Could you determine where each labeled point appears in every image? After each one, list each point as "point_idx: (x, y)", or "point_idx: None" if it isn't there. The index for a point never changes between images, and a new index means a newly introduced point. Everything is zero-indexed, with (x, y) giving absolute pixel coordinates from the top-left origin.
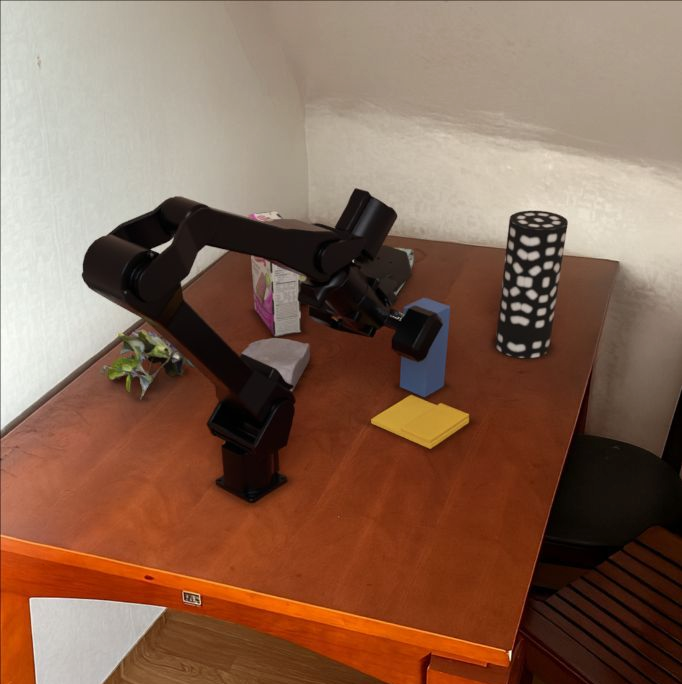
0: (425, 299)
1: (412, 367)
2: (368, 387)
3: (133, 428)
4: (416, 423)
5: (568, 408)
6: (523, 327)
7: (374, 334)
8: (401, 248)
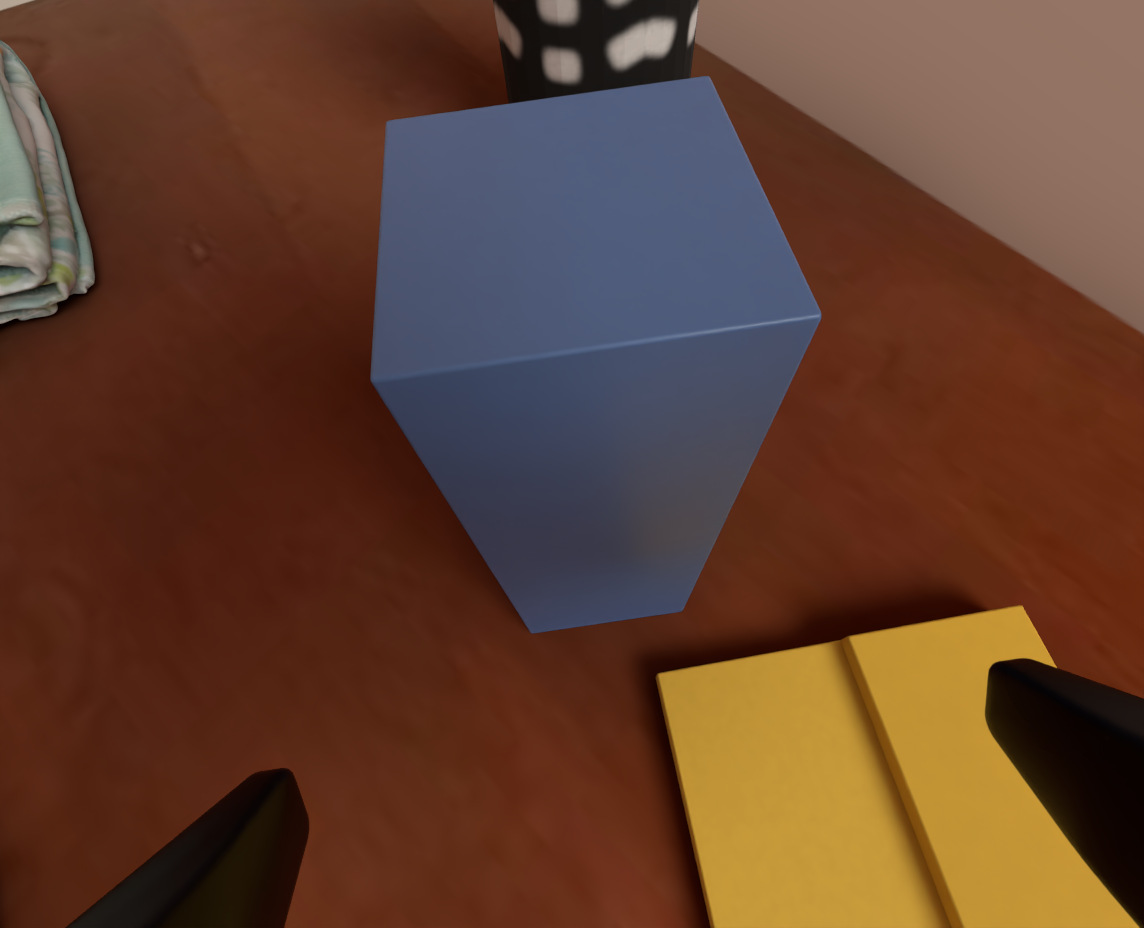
0: (428, 134)
1: (598, 587)
2: (423, 769)
3: None
4: None
5: (1028, 268)
6: (660, 66)
7: (299, 805)
8: None
